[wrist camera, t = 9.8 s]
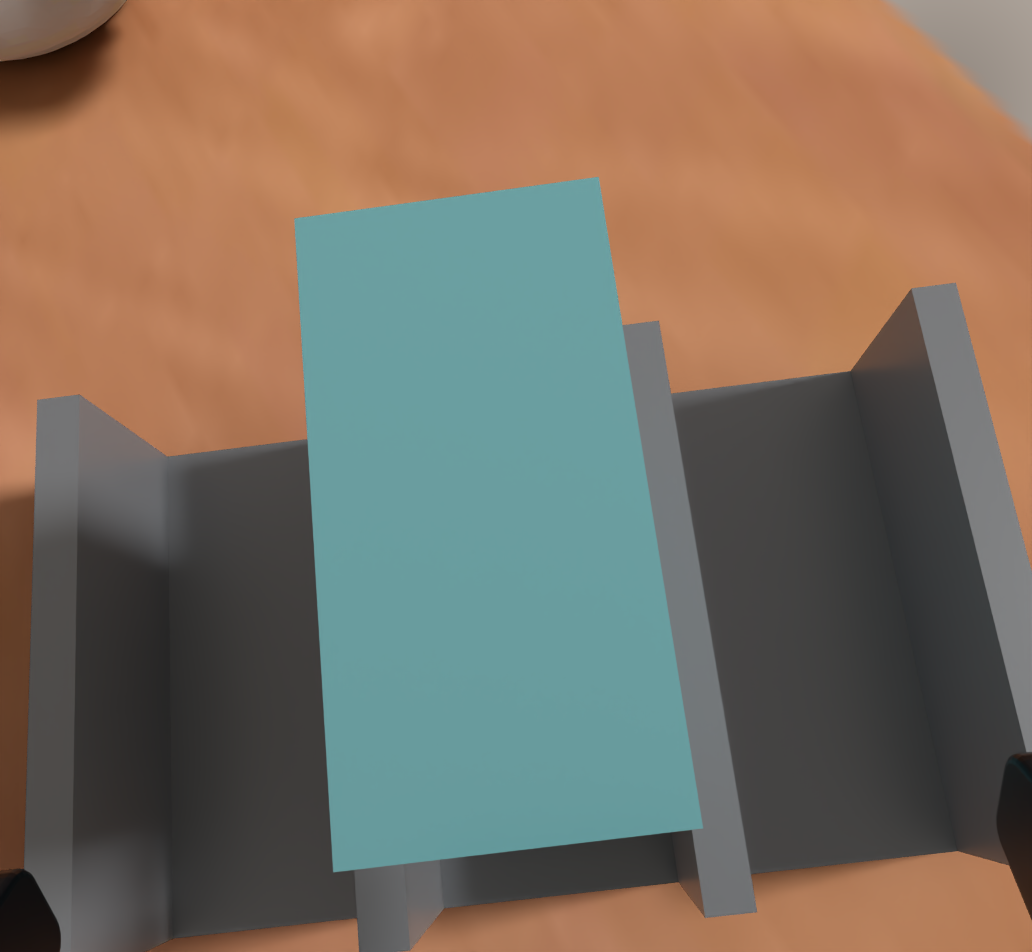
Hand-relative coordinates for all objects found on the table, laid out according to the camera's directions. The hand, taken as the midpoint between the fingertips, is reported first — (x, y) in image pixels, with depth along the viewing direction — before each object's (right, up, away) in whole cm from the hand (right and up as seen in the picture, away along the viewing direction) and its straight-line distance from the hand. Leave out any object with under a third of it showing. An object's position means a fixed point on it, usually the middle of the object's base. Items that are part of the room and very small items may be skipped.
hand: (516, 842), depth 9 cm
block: (0, 0, +11) cm, 11 cm away
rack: (0, 0, +12) cm, 12 cm away
